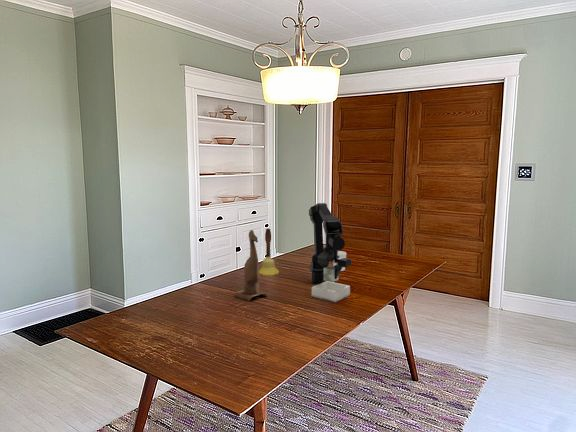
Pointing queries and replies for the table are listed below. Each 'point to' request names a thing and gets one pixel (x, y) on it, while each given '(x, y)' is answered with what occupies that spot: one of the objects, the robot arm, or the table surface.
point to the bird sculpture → (251, 273)
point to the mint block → (329, 274)
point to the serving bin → (330, 291)
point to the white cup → (341, 255)
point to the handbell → (268, 258)
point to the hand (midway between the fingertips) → (331, 277)
